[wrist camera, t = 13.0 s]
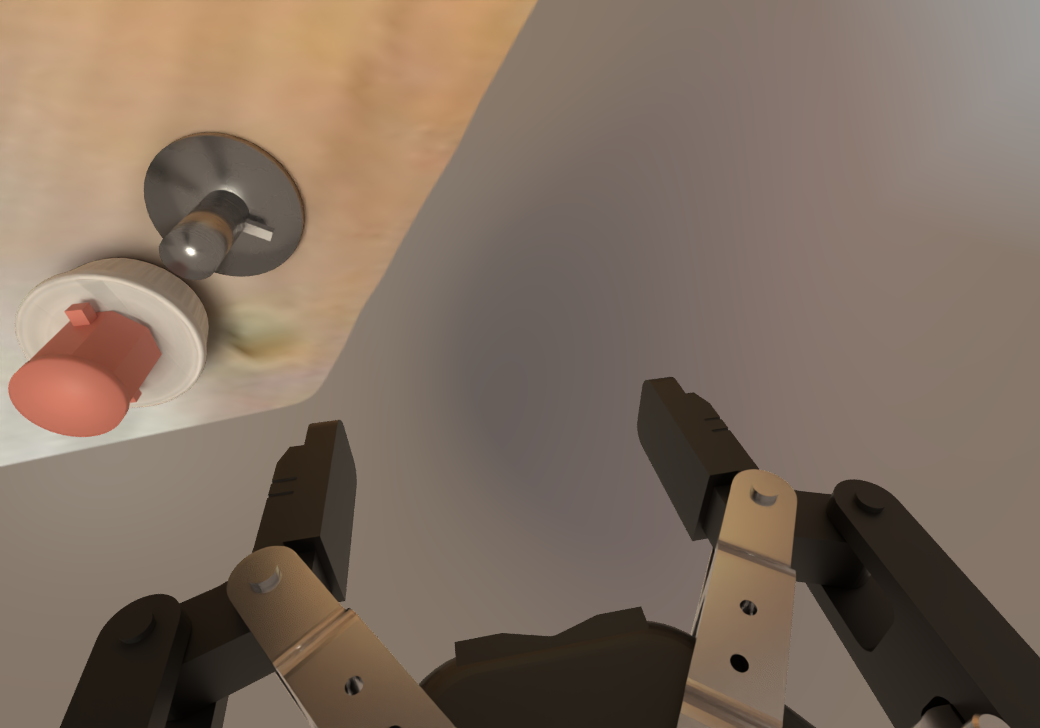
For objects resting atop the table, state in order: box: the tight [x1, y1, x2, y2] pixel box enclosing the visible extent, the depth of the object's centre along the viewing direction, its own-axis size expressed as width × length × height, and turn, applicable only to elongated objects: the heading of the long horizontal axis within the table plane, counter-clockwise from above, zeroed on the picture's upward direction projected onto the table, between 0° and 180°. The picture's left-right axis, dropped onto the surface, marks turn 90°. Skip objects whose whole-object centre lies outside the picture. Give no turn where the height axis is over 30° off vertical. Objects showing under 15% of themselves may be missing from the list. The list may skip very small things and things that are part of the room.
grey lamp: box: [144, 133, 304, 280], centre depth 34 cm, size 10×10×9 cm
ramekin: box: [15, 258, 209, 408], centre depth 39 cm, size 11×11×5 cm
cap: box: [8, 302, 162, 437], centre depth 34 cm, size 8×6×6 cm
